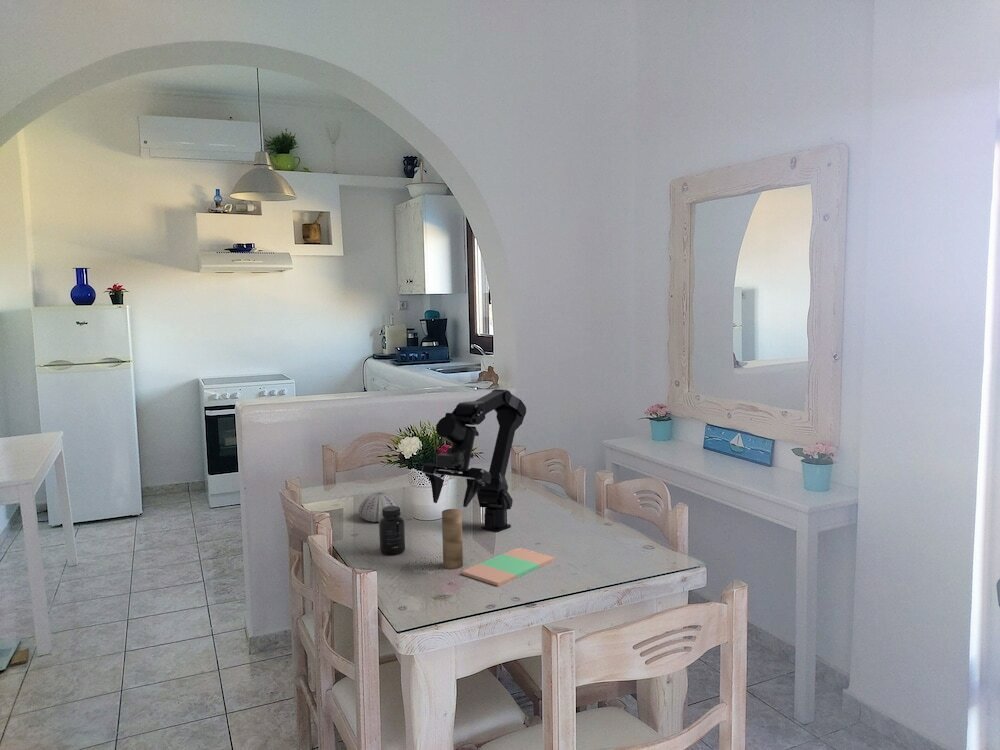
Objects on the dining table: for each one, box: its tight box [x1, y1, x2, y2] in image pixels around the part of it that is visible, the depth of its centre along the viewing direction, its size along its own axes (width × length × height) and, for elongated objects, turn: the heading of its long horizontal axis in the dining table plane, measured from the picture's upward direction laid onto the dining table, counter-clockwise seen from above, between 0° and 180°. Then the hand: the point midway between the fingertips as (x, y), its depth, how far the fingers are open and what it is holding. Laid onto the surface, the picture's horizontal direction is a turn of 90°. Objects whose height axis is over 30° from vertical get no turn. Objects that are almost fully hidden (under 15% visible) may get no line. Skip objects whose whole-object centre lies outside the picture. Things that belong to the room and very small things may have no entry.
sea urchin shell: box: [358, 491, 402, 523], centre depth 227 cm, size 13×14×8 cm
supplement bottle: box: [378, 506, 406, 557], centre depth 195 cm, size 7×7×12 cm
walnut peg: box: [441, 508, 464, 570], centre depth 184 cm, size 5×5×14 cm
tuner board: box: [461, 547, 556, 587], centre depth 183 cm, size 22×12×1 cm, turn 139°
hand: (449, 504), depth 192 cm, fingers open, 9 cm apart
